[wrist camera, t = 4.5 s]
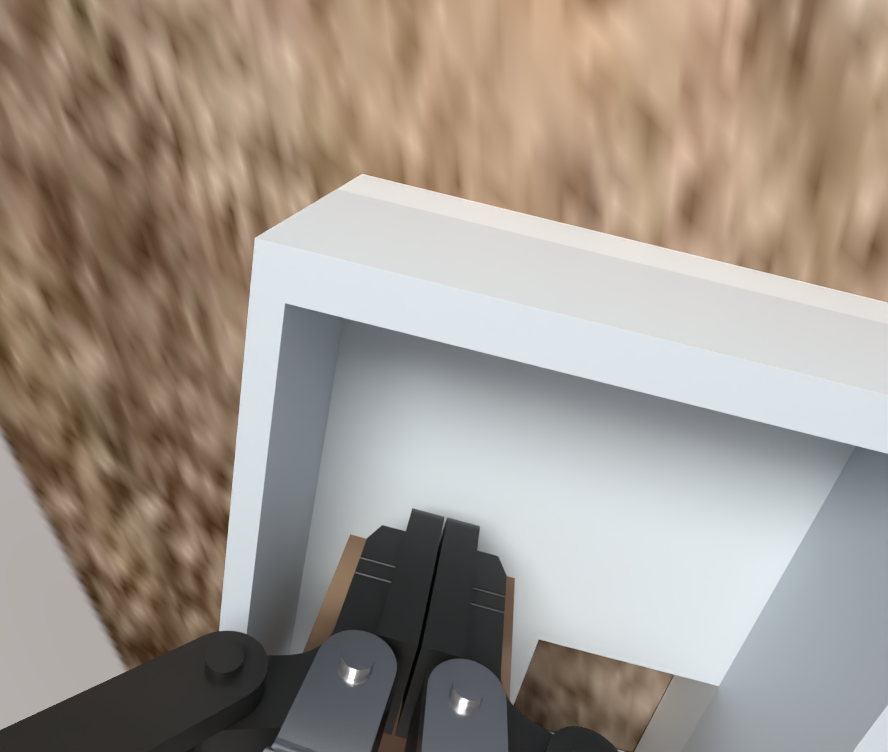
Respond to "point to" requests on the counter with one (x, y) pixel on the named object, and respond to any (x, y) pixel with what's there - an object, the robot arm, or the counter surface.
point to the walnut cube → (333, 602)
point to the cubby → (578, 452)
